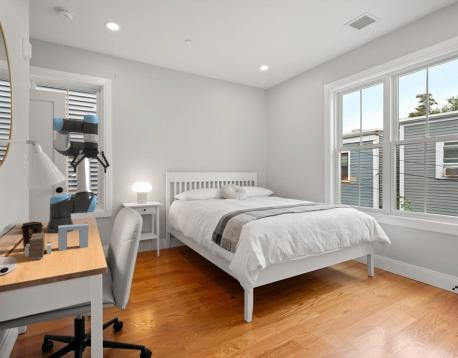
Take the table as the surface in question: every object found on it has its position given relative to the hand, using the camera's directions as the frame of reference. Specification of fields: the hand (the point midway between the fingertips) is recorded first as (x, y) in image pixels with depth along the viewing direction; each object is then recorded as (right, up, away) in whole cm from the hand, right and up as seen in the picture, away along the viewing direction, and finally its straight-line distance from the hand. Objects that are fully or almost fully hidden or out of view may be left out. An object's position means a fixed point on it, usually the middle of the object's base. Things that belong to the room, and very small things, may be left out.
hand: (90, 178), depth 149 cm
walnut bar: (-6, -34, -33) cm, 48 cm away
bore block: (+2, -35, -19) cm, 40 cm away
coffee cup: (-16, -35, -23) cm, 45 cm away
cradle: (-7, -35, -32) cm, 48 cm away
